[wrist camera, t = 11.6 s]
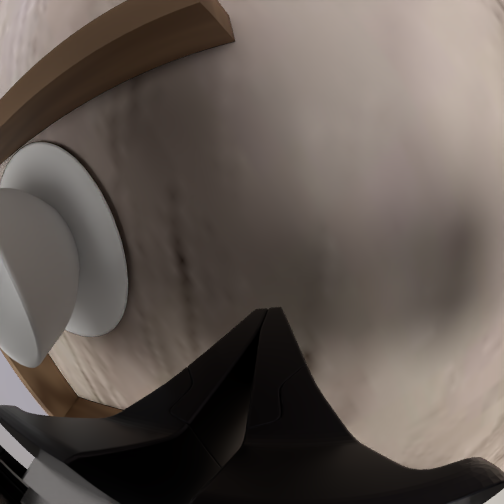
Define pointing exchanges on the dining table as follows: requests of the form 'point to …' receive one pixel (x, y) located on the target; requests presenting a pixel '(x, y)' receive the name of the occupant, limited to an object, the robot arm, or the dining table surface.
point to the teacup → (55, 254)
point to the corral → (84, 89)
